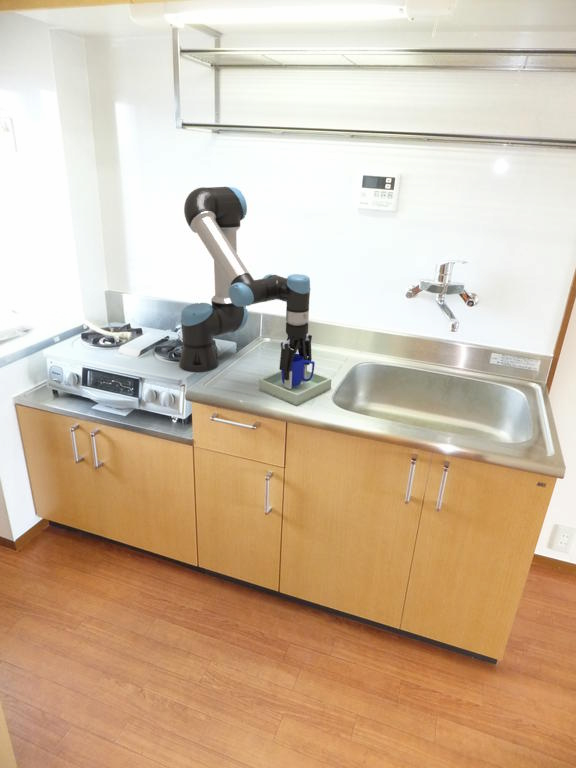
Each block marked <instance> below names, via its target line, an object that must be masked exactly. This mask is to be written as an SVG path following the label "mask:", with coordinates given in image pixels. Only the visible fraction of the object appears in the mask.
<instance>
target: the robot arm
mask: <svg viewBox="0 0 576 768" xmlns="http://www.w3.org/2000/svg"><path fill="white" fill-rule="evenodd" d="M247 206H248V205H247V201H246V198H245V196H244V194H243V193H242V191H241V190H239V189H238V188H237V187H233V186H215V187H214V186H213V187H212V186H211V187H198V188H195V189H193V190H192V191H191V192H190V193H189V194H188V195H187V197H186V199H185V202H184V207H183V209H184V210H183V214H184V217H185V221H186V223H187V225H188V226H189V228H190V230H191V231H192V232H193V233H196V234H197V235H198V238H199V239H200V240H201V242H202V243H203V245H204V246H205V248H206V249H207V251H208V253H209V254H210V256H211V258H212V259H213V264H214V265H213V268H214V269H213V270H214V271H213V273H214V295H213V296H212V297H211V304H210V303H207V302H199V303H198V302H196V303H191V304H189V305H187V306H185V307H183V308H182V310H181V314H180V324H181V334H182V336H181V337H182V349H181V353H180V358H179V367H180V368H181V369H182V370H184V371H186V372H193V373H194V372H197V373H198V372H199V373H200V372H206V371H207V372H208V371H212V370H214V369H216V368H217V367H218V366H219V365H220V364H219V363H220V362H219V361H220V359H219V356H218V354H217V353H218V352H217V351H216V348H215V345H214V337H217V336H220V335H224V334H230V333H235V332H237V331H240V330H241V329H243V328H244V327H245V326H246V325H247V322H248V318H249V316H248V315H249V314H248V313H249V312H248V308H247V307H249V306H251V305H255V304H259V303H266V302H271V301H275V300H277V301H278V300H279V301H282V302H285V303H286V310H285V311H286V312H285V321H286V322H285V333H286V335H287V338H286V341H285V342H283V341H281V343H280V349H281V350H280V358H279V370H280V371H281V370H282V371H284V387H286V388H288V389H292V371H290V370H291V366H292V363H293V359H294V355H295V353H296V354H297V353H298V354H299V356H303V357H304V360H308V361H313V360H312V357H313V356H312V337H313V336H312V335H311V334H309V317H310V316H309V313H310V312H309V311H310V296H311V280H310V277H309V276H308V275H306V274H298V273H293V274H289V275H288V276H287V278H286V277H283V276H280V275H277V274H271V273H270V274H266V275H264V276H263V278H259V279H254V278H253V277H252V275H251V274H250V273H249V271H248V269H247V268H246V266H245V264H244V263H243V261H242V260H241V258H240V257H239V255H238V254H237V251H238V249H237V247H238V246H237V231H238V230H239V229H240V228H241V221H243V220H244V219H245V218H246V215H247V213H248V207H247ZM308 366H310V363H305V364H304V369H303V378H304V379H306V372H307V370H308ZM287 367H288V368H287ZM301 382H304V383H305V382H306V381H303V380H302V381H301Z"/></svg>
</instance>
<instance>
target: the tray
mask: <svg viewBox="0 0 576 768" xmlns="http://www.w3.org/2000/svg"><path fill="white" fill-rule="evenodd" d="M311 372H312V370H308V369H307V372H306V379H309V378H310V376H311ZM331 389H332V378H330V377H327V376H324V375H321V374H319V373H316V372H313V376H312V378H311V380H310V381H306V382H305V383H304V382H301V383H300V384H299V385H297V386H292V389H288V388H286V387H284V384H283V382H282V374H281V370H280V371H277V372H273V373H272V374H269V375H267V376H265V377H263V378H260V379H258V391H260V392H262V393H265V394H268V395H270V396H272V397H274V398H277V399H279V400H281V401H284V402H286V403H288V404H291V405H292V406H296V407H298V406H301V405H302V404H304V403H306V402H308V401H310V400H312V399H314V398H316V397H318V396H319V395H322V394H323V393H326V392H328V391H330V390H331Z"/></svg>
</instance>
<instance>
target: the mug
mask: <svg viewBox="0 0 576 768" xmlns="http://www.w3.org/2000/svg"><path fill="white" fill-rule="evenodd" d="M305 363H310V364H311V365H312V366H311V376H310V378H309V379H304V378H303V369H304V364H305ZM310 364H309V365H310ZM315 364H316V363H315V361H313V360H311V361H308V360H304V357H303V356H299V353H297V352H296V353H295V355H294V359H293V363H292V366H291V370H290V371H292V386H297V385H299V384H300V383H301V381H302V380H303V381H310V380H311V378H312V376H313V372H314V371H315V366H316V365H315ZM287 368H288V367H287ZM280 371H281V374H282V382H283V384H284V371H282V370H280ZM314 373H315V372H314Z"/></svg>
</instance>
